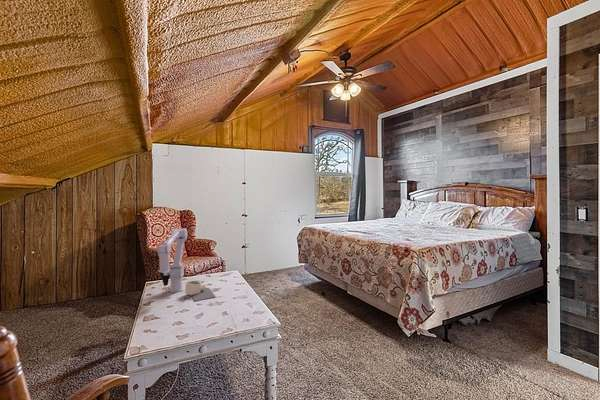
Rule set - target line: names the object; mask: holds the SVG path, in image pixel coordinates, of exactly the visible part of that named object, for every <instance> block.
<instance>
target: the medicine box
mask: <svg viewBox="0 0 600 400" xmlns="http://www.w3.org/2000/svg"><path fill="white" fill-rule="evenodd" d="M205 288H207V285H206V282H205V281H197V280H191V281H186V282H185V291H184V293H185V294H187V295H190V296H192V295H194V294H199V293H200V291H202V290H205Z"/></svg>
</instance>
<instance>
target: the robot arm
mask: <svg viewBox="0 0 600 400" xmlns="http://www.w3.org/2000/svg"><path fill="white" fill-rule="evenodd" d="M170 232H171V233H170V234H171V235H170V236H169V237H166V239H165V240H164V241H163V242H162V244H159V245H158V246H157V249H156V252H157V256H158V257H159V258H158V259H159V269H158V270H157V272H158V273H159V274H160V278H161V280H162V283H163V286H164V287H165V286H168V285H169V280H170V287H169V291H170V293H171V294H172V293H177V292H183V291H184V289H183V281H182V278H183V277H184V276H185V266H184V265H183V264H182V259H183V253H184V247H185V242H186V241H187V239H188V229H187V228H172V229H171V231H170ZM175 242H176V246H175V252H174V257H173V263H172V264H171V265H170V252H171V251H172V247H173V245H174V244H175Z"/></svg>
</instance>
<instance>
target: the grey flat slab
mask: <svg viewBox="0 0 600 400" xmlns="http://www.w3.org/2000/svg"><path fill="white" fill-rule="evenodd" d="M191 298H192V299H193V301H194V302H199V301H204V300H205V301H206V300H209V299H213V298H216V295H215V294H214V293H213V291H212V289H210V288H209V287H206V288H205V290H202V291H200V293H199V294H194V295H191Z"/></svg>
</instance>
